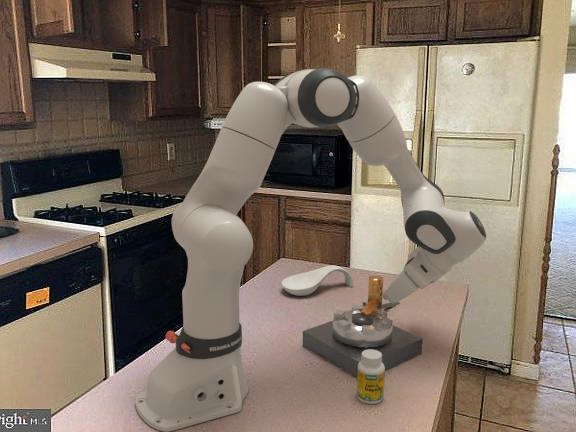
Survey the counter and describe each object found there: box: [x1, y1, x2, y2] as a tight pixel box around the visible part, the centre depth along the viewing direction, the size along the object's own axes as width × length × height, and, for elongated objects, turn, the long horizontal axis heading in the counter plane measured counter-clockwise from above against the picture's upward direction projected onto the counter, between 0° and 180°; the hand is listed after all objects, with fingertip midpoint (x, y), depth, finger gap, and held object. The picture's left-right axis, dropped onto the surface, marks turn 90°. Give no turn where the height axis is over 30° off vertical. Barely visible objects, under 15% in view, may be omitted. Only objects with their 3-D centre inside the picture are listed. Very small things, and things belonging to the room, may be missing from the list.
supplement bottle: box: [356, 349, 386, 405], centre depth 103 cm, size 5×5×10 cm
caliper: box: [362, 300, 401, 310], centre depth 144 cm, size 20×1×6 cm, turn 139°
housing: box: [302, 320, 424, 379], centre depth 123 cm, size 20×20×4 cm
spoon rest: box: [280, 264, 355, 297], centre depth 161 cm, size 24×12×7 cm, turn 114°
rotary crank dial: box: [332, 275, 394, 347], centre depth 123 cm, size 19×14×11 cm
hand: (384, 296), depth 129 cm, fingers closed, pressing on rotary crank dial
